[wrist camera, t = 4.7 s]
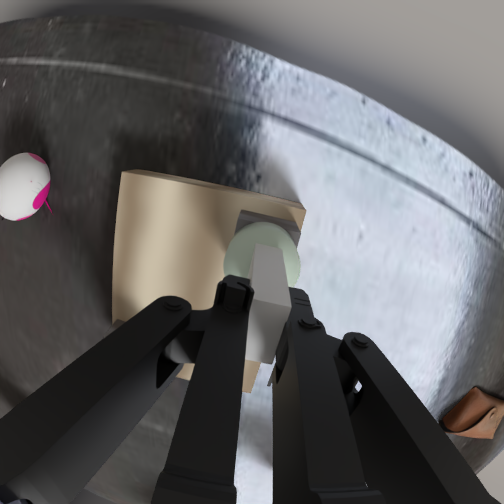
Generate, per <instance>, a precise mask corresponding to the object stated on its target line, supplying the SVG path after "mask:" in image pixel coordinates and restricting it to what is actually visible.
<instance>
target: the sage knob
mask: <svg viewBox="0 0 504 504" xmlns="http://www.w3.org/2000/svg"><path fill="white" fill-rule="evenodd" d="M256 243H258V244H263V245H267V246H271V247H276V248H280V249H282V251H283V257H284V263H285V269H286V275H287V281H288V287H294V285H295V284H296V282H297V280H298V277H299V274H300V267H301V266H300V258H299V255H298V252H297V248H296V245H295V243H294V241H293V239H292V237H291V236H290V234H289V233H288V232H287V231H286V230H284V229H283V228H281V227H280V226H278V225H276V224H273V223H269V222H255V223H251V224H249V225H246V226H244V227H243V228H241V229H240V230H239V231H238V232H236V234H235V235H234V236H233V238H232V239H231V241H230V243H229V246H228V249H227V251H226V254H225V257H224V263H223V269H224V275H225V276H227V275H229V274H230V275H235V276H239V277H243V278H247V277H248V273H249V269H250V264H251V260H252V256H253V252H254V248H255V244H256Z"/></svg>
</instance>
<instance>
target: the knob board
mask: <svg viewBox="0 0 504 504" xmlns="http://www.w3.org/2000/svg"><path fill="white" fill-rule="evenodd" d="M305 214H306V209H305V208H304V207H303V205H302V204H301V203H297V202H293V201H289V200H285V199H281V198H277V197H273V196H268V195H264V194H260V193H255V192H251V191H247V190H242V189H238V188H233V187H229V186H224V185H219V184H214V183H210V182H205V181H200V180H195V179H190V178H185V177H179V176H174V175H169V174H163V173H158V172H152V171H146V170H141V169H134V170H129V171H123V172H122V175H121V182H120V190H119V198H118V207H117V217H116V228H115V241H114V257H113V283H112V326H111V327H110V329H109V330H108V331H107V332H106V334H105V335H104V336H103V339H104V338H105V337H106V336H108V335H109V334H110V333H112V332H113V331H114V330H116V329H117V328H118V327H120V326H121V325H122V324H124V323H125V322H126V321H128V320H129V319H130V318H132V317H133V316H134V315H136V314H137V313H138V312H140V311H141V310H142V309H144V308H145V307H146V306H148V305H149V304H151V303H152V302H153V301H155V300H156V299H157V298H160V297H162V296H169V295H172V296H177V297H181V298H183V299H185V300H187V301H188V302H189V303H190V304H191V306H192V310H205V309H209V308H211V307H213V304H214V299H215V294H216V289H217V284H218V283H219V282H220V281H222V280H223V278H224V277H225V275H224V269H223V263H224V257H225V254H226V251H227V249H228V246H229V243H230V241H231V239H232V238H233V236H234V235H235V234H236V232H238V231H239V230H240V229H241V228H243V227H244V226H246V225H249V224H251V223H255V222H269V223H273V224H276V225H278V226H280V227H281V228H283V229H284V230H286V231H287V232H288V233H289V234H290V236H291V237H292V239H293V241H294V243H295V245H296V248H297V246H298V242H299V238H300V235H301V228H302V225H303V221H304V217H305ZM260 364H261V362H256V361H251V360H246V359H245V366H244V376H243V387H242V392H246V393H251V391H252V388H253V385H254V382H255V379H256V376H257V373H258V370H259V367H260ZM194 365H195V364H189V363H184V366H183V368H182V370H181V371H180V372H179V373H178V375H177V376H176V377H179V378H183V379H187V380H190V378H191V375H192V372H193V368H194Z"/></svg>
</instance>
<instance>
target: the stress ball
mask: <svg viewBox="0 0 504 504" xmlns="http://www.w3.org/2000/svg"><path fill="white" fill-rule="evenodd" d="M50 181H51V179H50V172H49V168H48V166H47V164H46V163H45V161H44V160H43V159H42V158H41V157H39V156H38V155H36V154H33V153H20V154H17V155H15V156H13V157H11V158H9V159H8V160H7V161H6V162H5V163H4V164H3V165H2V166H1V167H0V215H1V216H3V218H6V219H9V220H22V219H25V218H28V217H30V216H31V215H33V214H34V213H35V212H36V211H37V210H38V209H39V208H40V207H41V206H42V204H43V203H44V201H45V202H46V204H47V206H48V207H49V205H48V203H47V201H46V197H47V195H48V192H49V189H50ZM49 209H50V207H49ZM50 211H51V209H50ZM51 212H52V211H51ZM52 214H53V213H52ZM53 216H54V215H53ZM2 220H3V219H2Z"/></svg>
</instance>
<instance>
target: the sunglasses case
mask: <svg viewBox="0 0 504 504" xmlns="http://www.w3.org/2000/svg"><path fill="white" fill-rule="evenodd" d="M503 415H504V400H501V399H498V398H495V397H493V396H490V395H488V394H486V393H484V392H482V391H481V390H480V389H479V388H477V387H474V388H472V389H471V390H470V391H469V392H468V394H467V395H466V396H465V397H464V398H463V399H462V400H461V401H460V402H459V403H458V404H457V405H456V406H455V407H454V408H453V409H452V410H451V411H450V412H449V413H448V414H447V415H446V416H445V417H444V418H443V419H442V420H441V421H439V425H440V427H441V428H442V429H443V431H444V432H445V433H451V434H455V435H460V436H466V437H473V438H489V439H493V435H494V432H495V430H496V428H497V427H498V425H499V423H500V421H501V419H502V417H503Z"/></svg>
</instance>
